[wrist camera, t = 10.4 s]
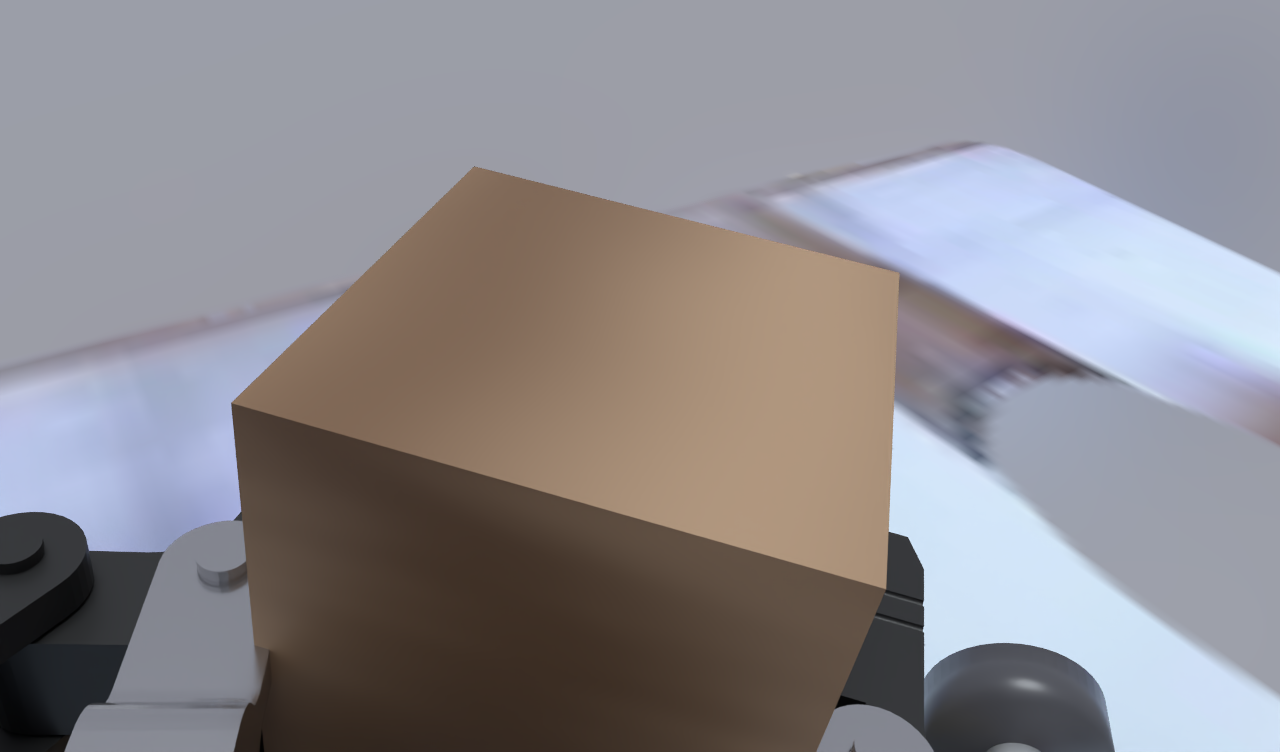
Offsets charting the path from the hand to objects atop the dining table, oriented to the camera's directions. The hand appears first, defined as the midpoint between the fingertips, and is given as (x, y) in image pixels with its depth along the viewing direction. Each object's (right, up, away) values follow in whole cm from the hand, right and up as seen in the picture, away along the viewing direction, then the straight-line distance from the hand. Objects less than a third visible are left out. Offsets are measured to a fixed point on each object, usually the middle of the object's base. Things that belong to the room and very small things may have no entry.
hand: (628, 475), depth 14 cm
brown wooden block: (-1, -6, +1) cm, 7 cm away
